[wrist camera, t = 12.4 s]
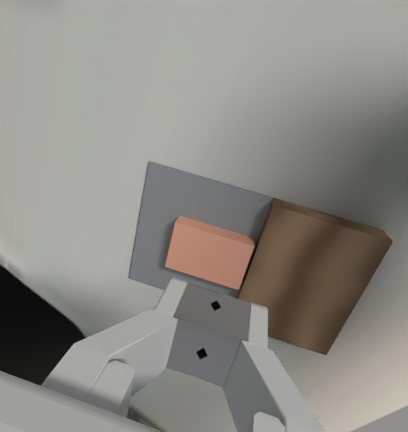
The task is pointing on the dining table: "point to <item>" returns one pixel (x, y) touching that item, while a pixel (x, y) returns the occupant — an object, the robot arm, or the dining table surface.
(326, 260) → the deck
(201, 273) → the salmon pink rectangular block
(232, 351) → the robot arm
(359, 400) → the dining table surface
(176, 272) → the mat
